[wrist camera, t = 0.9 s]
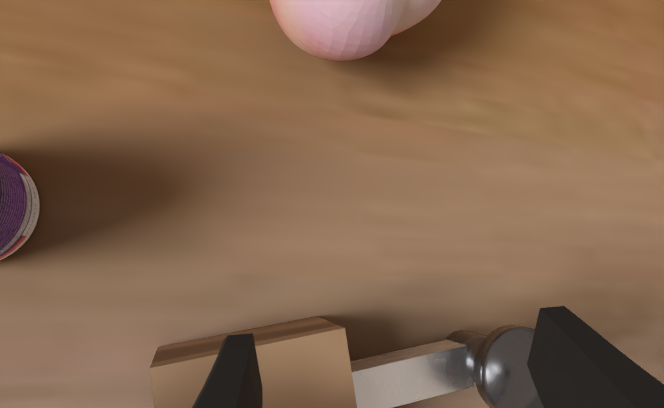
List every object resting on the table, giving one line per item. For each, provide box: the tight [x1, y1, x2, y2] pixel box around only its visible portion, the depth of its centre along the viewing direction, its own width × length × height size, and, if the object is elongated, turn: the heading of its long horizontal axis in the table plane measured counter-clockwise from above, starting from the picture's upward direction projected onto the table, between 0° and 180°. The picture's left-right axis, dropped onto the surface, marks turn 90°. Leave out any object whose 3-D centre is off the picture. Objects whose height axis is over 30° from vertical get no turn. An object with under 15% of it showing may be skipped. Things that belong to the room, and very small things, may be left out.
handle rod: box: [350, 325, 544, 408], centre depth 22 cm, size 4×18×6 cm, turn 99°
